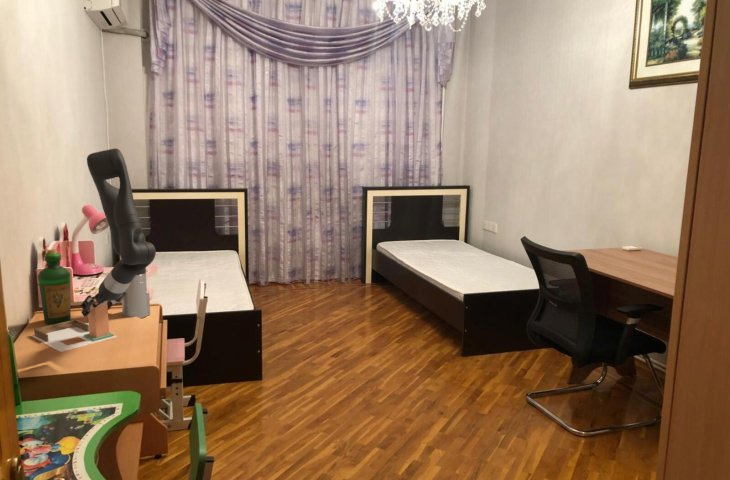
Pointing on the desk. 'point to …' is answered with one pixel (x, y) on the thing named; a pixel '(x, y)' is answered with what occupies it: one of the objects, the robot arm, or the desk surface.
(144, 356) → the desk surface
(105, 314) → the post
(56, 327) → the tray
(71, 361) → the desk surface
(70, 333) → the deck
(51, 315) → the bottle
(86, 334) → the pad
